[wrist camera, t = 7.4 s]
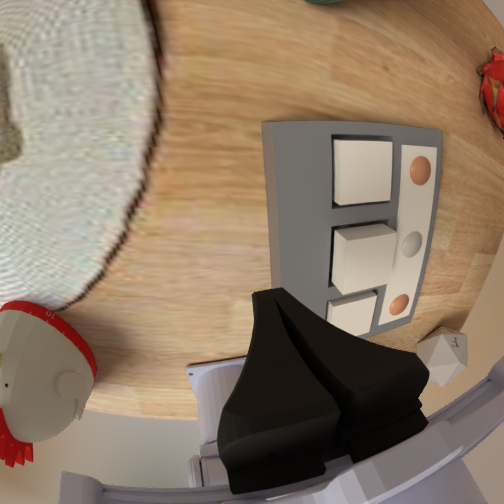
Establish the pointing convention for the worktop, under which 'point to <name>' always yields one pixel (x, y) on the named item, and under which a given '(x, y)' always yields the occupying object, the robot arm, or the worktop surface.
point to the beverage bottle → (324, 1)
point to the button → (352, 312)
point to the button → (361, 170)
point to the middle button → (363, 257)
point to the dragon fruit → (493, 88)
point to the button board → (348, 212)
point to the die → (443, 354)
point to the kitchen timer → (39, 378)
